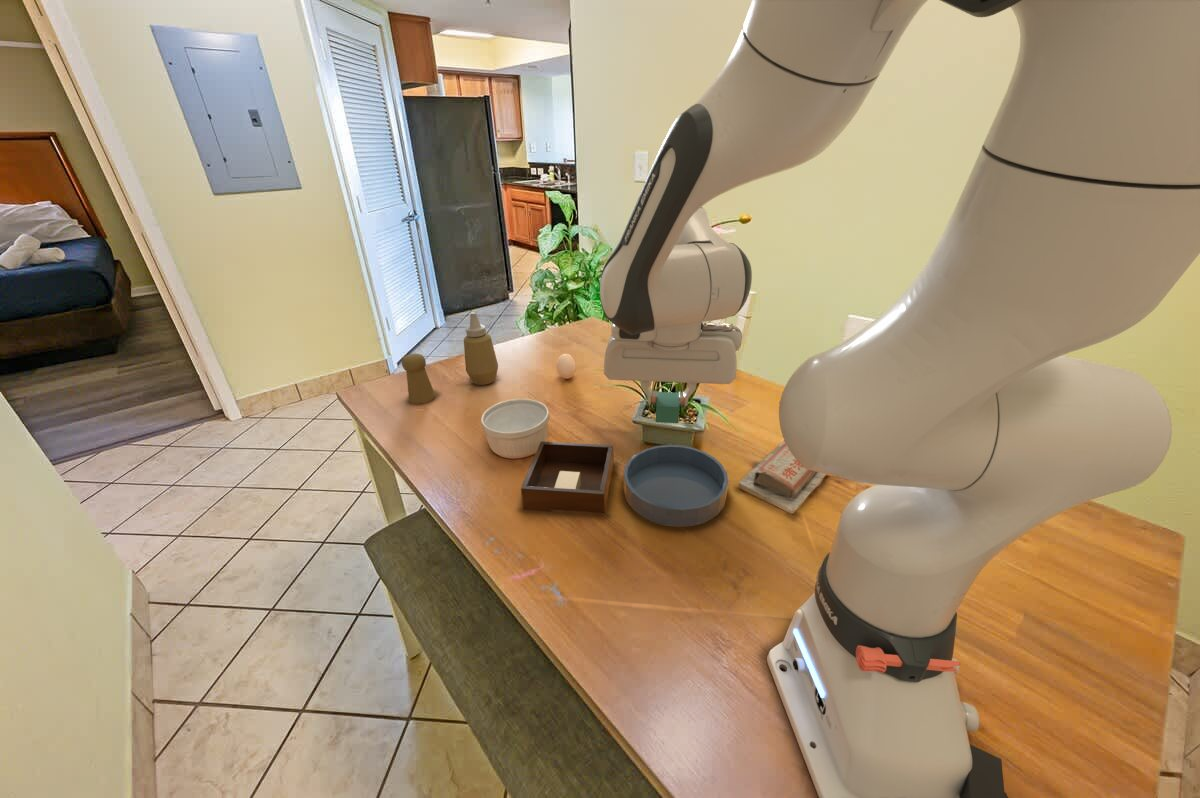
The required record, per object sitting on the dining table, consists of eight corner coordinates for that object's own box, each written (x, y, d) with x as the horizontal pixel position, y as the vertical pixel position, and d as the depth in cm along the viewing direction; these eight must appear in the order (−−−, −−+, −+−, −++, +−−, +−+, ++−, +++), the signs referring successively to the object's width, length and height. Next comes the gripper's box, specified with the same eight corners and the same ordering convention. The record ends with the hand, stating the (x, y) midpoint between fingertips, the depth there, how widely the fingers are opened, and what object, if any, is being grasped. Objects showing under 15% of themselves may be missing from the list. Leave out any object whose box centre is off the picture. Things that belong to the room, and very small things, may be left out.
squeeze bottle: (496, 387, 118) (486, 318, 109) (464, 388, 118) (451, 319, 109) (502, 373, 125) (493, 307, 116) (472, 373, 125) (460, 307, 116)
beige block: (576, 504, 79) (575, 490, 77) (555, 502, 79) (553, 488, 78) (581, 485, 83) (580, 471, 82) (560, 484, 83) (559, 470, 82)
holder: (604, 515, 77) (604, 494, 75) (523, 509, 79) (520, 488, 77) (613, 464, 89) (613, 445, 87) (542, 460, 91) (540, 441, 88)
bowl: (730, 532, 73) (733, 513, 71) (619, 524, 75) (619, 505, 73) (720, 465, 88) (722, 447, 86) (628, 459, 90) (628, 442, 88)
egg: (572, 372, 124) (570, 348, 121) (579, 379, 120) (577, 355, 117) (554, 376, 122) (552, 352, 119) (561, 383, 118) (559, 359, 115)
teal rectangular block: (678, 423, 75) (679, 407, 74) (655, 422, 76) (656, 406, 74) (678, 408, 80) (679, 392, 78) (656, 407, 80) (657, 391, 79)
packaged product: (788, 424, 90) (841, 444, 84) (783, 445, 93) (836, 466, 87) (739, 467, 79) (798, 493, 73) (736, 489, 82) (792, 517, 75)
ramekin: (474, 442, 97) (468, 413, 93) (528, 419, 104) (524, 391, 101) (508, 472, 88) (503, 441, 84) (564, 444, 95) (562, 414, 92)
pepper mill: (411, 406, 111) (400, 363, 105) (407, 395, 115) (396, 354, 110) (437, 399, 113) (428, 357, 108) (432, 389, 118) (423, 348, 112)
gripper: (741, 316, 71) (731, 397, 78) (606, 313, 74) (608, 391, 81) (746, 331, 66) (735, 416, 73) (600, 328, 69) (603, 410, 75)
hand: (667, 403), depth 77 cm, fingers closed on teal rectangular block, 3 cm apart
